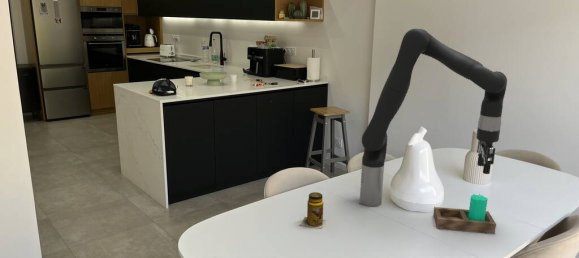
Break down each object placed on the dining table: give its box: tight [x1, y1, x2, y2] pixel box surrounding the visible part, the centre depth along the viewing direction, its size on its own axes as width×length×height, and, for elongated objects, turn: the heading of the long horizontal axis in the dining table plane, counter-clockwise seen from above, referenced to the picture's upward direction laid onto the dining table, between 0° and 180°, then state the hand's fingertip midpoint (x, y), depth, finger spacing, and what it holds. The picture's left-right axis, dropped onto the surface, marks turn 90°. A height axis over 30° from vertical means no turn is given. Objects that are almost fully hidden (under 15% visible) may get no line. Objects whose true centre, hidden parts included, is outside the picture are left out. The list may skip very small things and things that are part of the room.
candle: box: [468, 193, 488, 221], centre depth 167 cm, size 6×6×12 cm
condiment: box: [299, 191, 326, 229], centre depth 168 cm, size 7×8×12 cm
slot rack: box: [432, 206, 497, 235], centre depth 170 cm, size 20×11×4 cm, turn 80°
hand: (483, 169), depth 163 cm, fingers open, 8 cm apart
